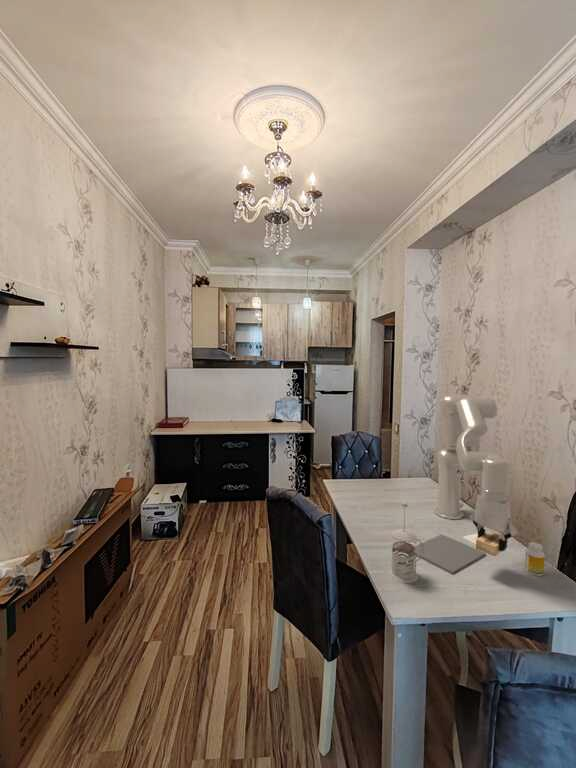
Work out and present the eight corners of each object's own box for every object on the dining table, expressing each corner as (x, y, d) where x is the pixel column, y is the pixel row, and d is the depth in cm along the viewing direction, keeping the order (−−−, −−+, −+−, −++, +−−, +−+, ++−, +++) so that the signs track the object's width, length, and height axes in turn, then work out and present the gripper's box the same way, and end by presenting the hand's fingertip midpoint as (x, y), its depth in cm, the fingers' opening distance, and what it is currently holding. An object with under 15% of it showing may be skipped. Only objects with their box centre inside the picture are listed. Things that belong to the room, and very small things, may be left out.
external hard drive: (489, 555, 135) (462, 540, 146) (505, 551, 138) (477, 536, 149) (489, 551, 135) (462, 536, 146) (505, 547, 138) (477, 532, 149)
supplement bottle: (521, 567, 125) (522, 541, 125) (536, 567, 126) (537, 540, 125) (532, 576, 120) (533, 549, 119) (548, 576, 120) (549, 548, 120)
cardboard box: (488, 539, 128) (488, 530, 127) (507, 546, 123) (507, 536, 123) (475, 548, 121) (476, 539, 121) (494, 556, 117) (495, 546, 117)
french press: (384, 566, 126) (385, 497, 124) (416, 565, 127) (417, 496, 125) (394, 583, 116) (395, 508, 115) (429, 582, 117) (430, 507, 116)
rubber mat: (441, 536, 148) (441, 534, 148) (485, 555, 134) (485, 553, 133) (407, 551, 136) (408, 549, 136) (452, 574, 121) (452, 572, 121)
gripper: (463, 488, 126) (461, 537, 127) (516, 505, 112) (513, 560, 113) (474, 484, 130) (472, 532, 131) (527, 500, 116) (524, 553, 117)
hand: (491, 544), depth 122 cm, fingers closed on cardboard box, 6 cm apart
